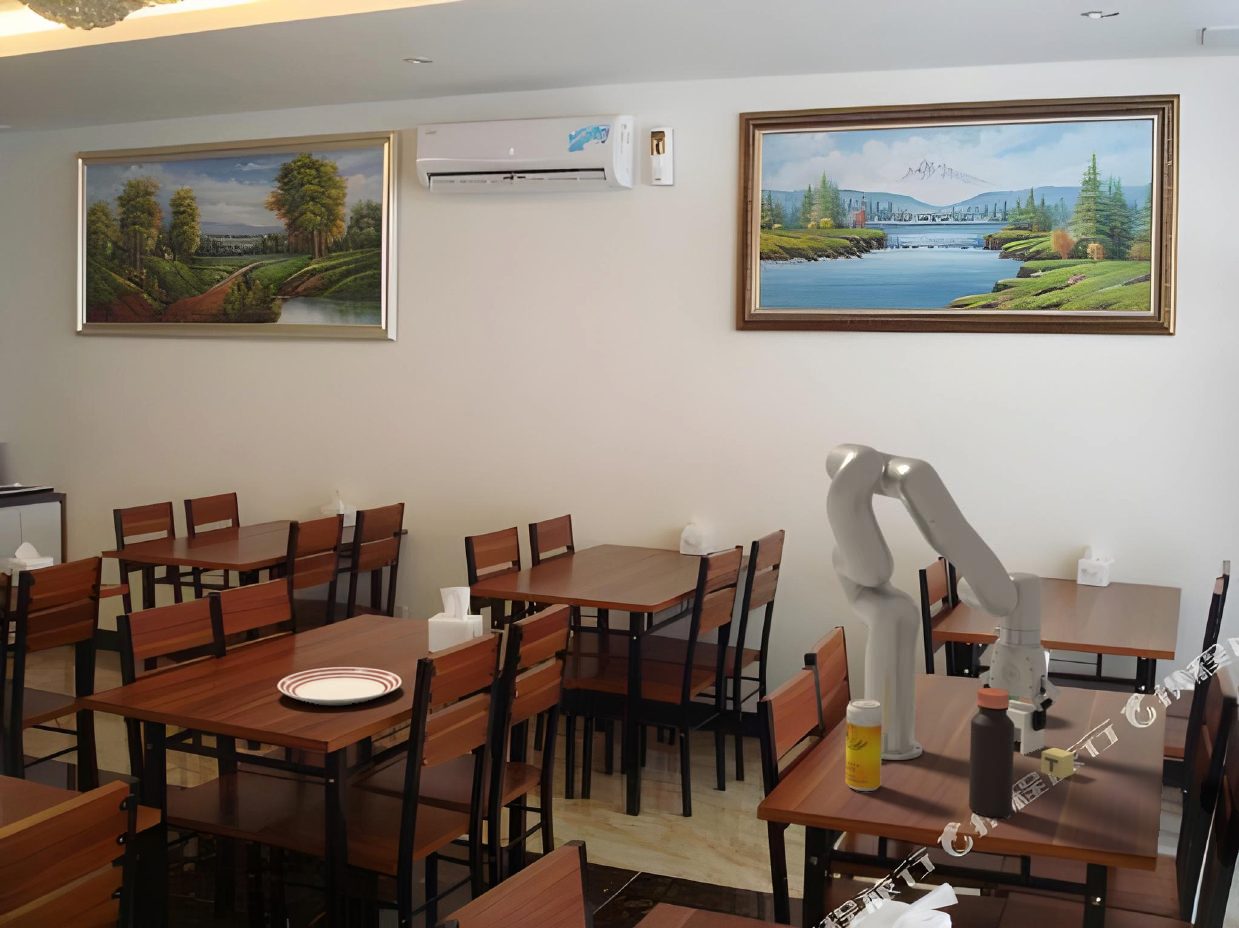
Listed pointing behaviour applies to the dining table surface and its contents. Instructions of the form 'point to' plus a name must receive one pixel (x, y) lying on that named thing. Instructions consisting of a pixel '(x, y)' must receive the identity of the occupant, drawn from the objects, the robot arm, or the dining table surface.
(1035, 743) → the cover
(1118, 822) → the dining table surface
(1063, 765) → the letter cube
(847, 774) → the beer can
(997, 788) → the bottle
